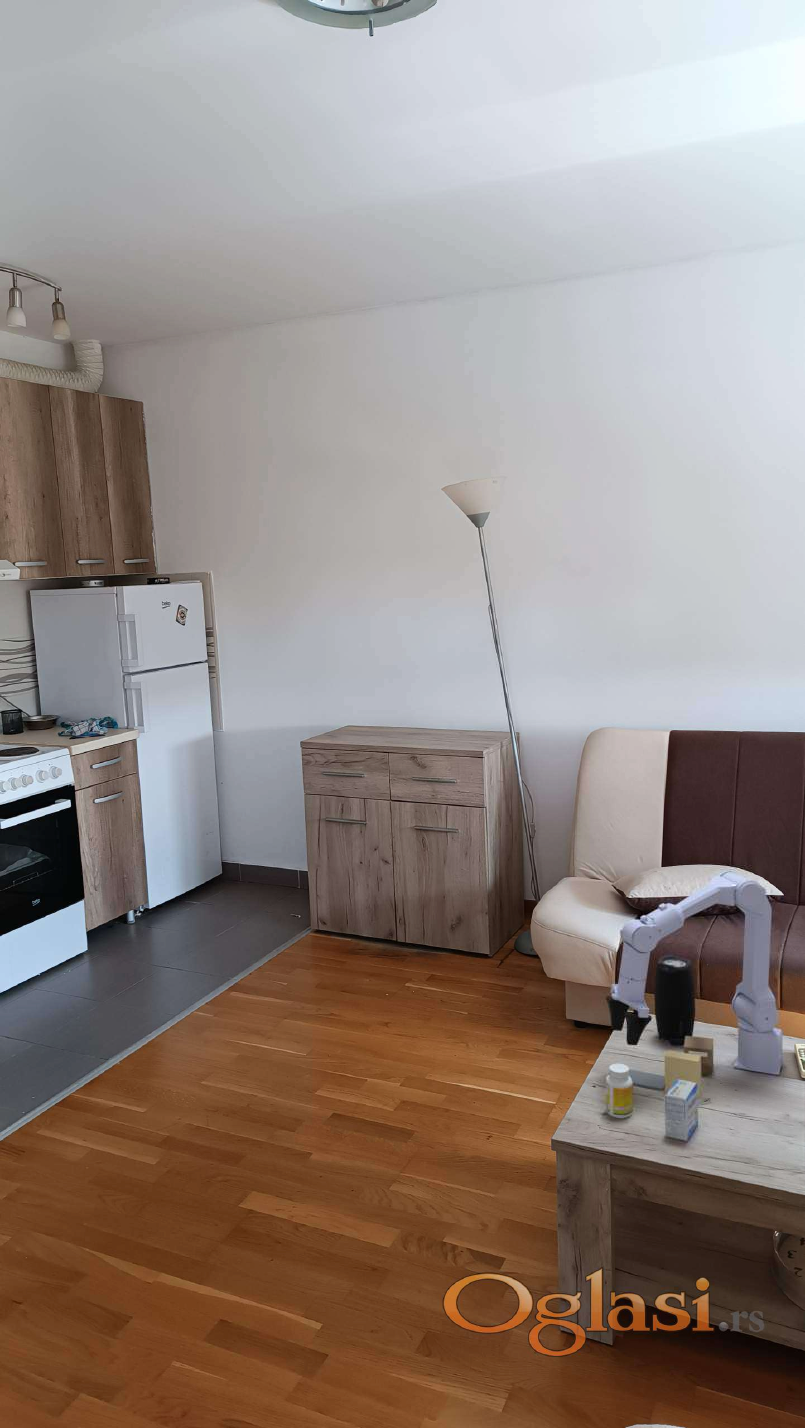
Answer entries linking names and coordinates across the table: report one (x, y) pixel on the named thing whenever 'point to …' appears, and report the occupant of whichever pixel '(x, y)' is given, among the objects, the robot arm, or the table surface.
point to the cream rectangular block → (682, 1068)
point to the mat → (647, 1080)
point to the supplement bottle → (619, 1091)
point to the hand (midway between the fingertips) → (624, 1037)
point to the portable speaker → (674, 999)
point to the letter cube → (701, 1052)
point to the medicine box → (681, 1109)
